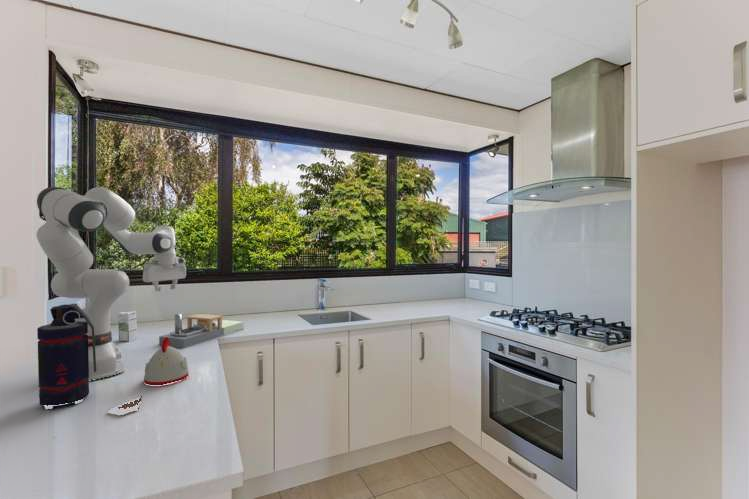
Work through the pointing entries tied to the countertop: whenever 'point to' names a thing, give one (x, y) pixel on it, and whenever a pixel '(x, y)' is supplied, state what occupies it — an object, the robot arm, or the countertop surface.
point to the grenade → (64, 356)
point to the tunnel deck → (196, 338)
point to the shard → (130, 404)
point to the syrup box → (127, 326)
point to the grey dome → (166, 366)
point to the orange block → (203, 322)
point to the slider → (179, 329)
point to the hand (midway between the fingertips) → (165, 290)
